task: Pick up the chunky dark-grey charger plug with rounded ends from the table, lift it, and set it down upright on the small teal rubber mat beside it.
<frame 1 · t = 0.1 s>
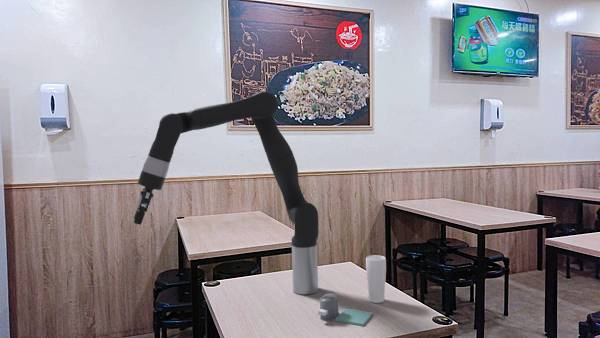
hand: (137, 221, 130), 31 cm above the table, tool tilted 20°, fingers open, 8 cm apart
mat: (354, 317, 128), on the table
plug: (329, 316, 130), on the table
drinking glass: (376, 301, 141), on the table
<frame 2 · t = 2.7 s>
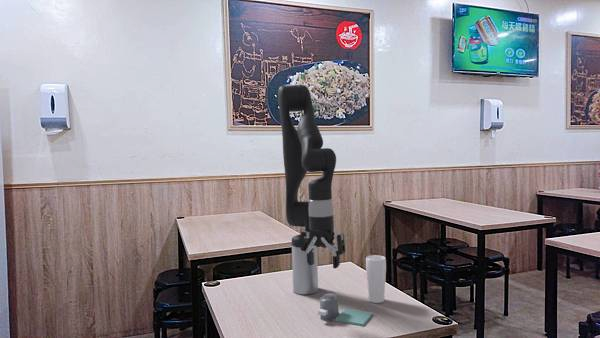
hand: (323, 266, 126), 17 cm above the table, tool pointing down, fingers open, 8 cm apart
nothing on the table moved.
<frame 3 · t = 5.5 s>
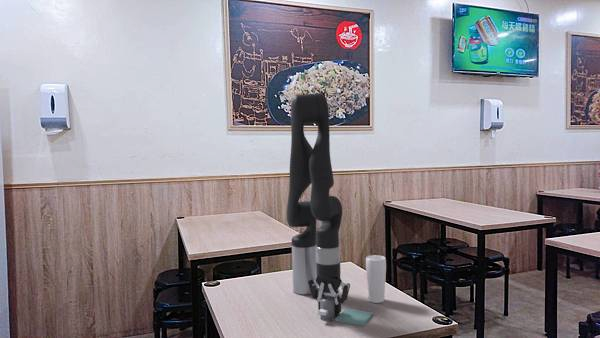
hand: (329, 313, 130), 1 cm above the table, tool pointing down, fingers closed on plug, 4 cm apart
plug: (329, 316, 130), on the table, touching gripper
everything else where it was.
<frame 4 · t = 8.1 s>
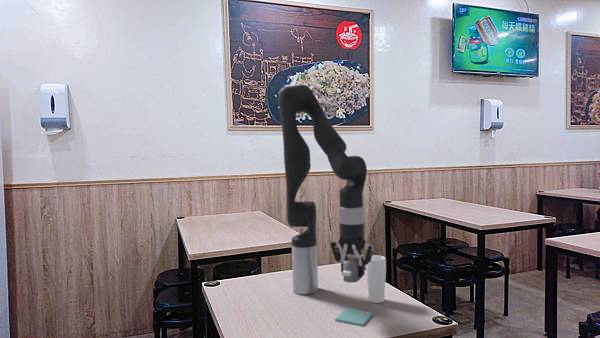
hand: (352, 275, 127), 13 cm above the table, tool pointing down, fingers closed on plug, 4 cm apart
plug: (352, 278, 127), point 12 cm above the table, touching gripper
everything else where it was.
when the fingers open (3 cm above the table, at t = 10.6 s): plug drops 2 cm, resting on mat.
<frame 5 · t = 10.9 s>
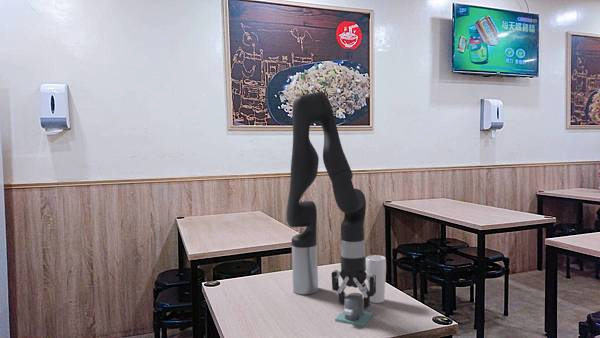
hand: (354, 306, 128), 4 cm above the table, tool pointing down, fingers open, 7 cm apart
plug: (354, 315, 128), point 1 cm above the table, touching mat
everything else where it was.
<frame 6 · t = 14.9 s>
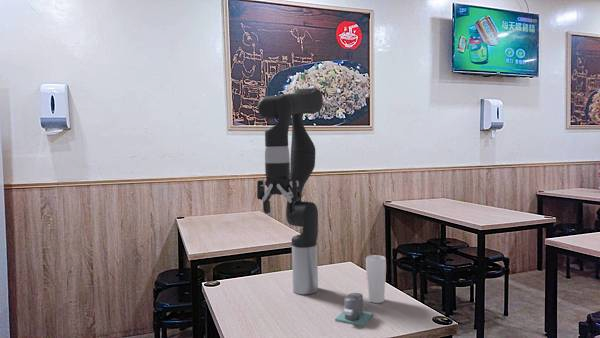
hand: (279, 213, 127), 33 cm above the table, tool pointing down, fingers open, 8 cm apart
nothing on the table moved.
at the end: plug inside the target area on the mat (0.1 cm from its centre), point 0.6 cm above the mat's base; plug tilted 0°; the gripper is holding nothing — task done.
